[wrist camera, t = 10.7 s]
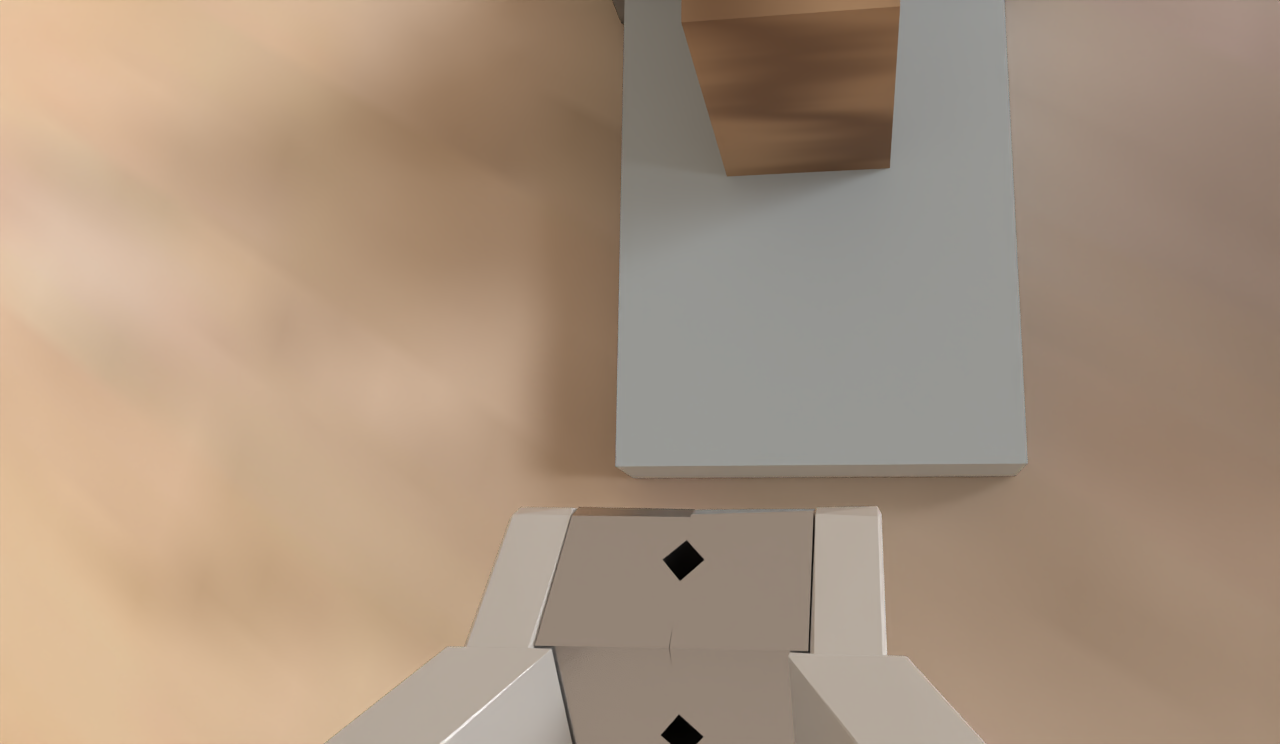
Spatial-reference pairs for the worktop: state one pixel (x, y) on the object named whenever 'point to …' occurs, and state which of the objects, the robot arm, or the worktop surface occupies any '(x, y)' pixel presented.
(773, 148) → the brown boxy piece
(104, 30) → the worktop surface
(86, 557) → the worktop surface
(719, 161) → the board
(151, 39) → the worktop surface
